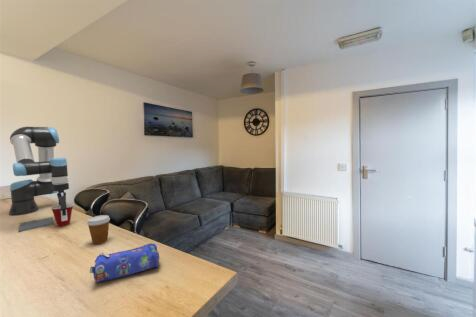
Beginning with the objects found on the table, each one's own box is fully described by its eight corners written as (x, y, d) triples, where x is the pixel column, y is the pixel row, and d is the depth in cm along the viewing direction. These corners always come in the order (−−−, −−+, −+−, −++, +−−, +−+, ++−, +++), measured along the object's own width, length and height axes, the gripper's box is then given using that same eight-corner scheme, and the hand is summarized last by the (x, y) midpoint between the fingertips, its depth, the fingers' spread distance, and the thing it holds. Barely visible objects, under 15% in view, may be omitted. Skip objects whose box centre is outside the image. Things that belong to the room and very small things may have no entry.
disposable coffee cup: (100, 247, 98) (98, 222, 97) (83, 245, 100) (81, 221, 99) (115, 237, 107) (114, 215, 106) (100, 236, 109) (98, 214, 108)
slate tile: (20, 224, 128) (20, 223, 128) (52, 218, 139) (52, 216, 139) (18, 232, 118) (18, 230, 117) (53, 224, 128) (53, 222, 128)
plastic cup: (79, 221, 132) (78, 203, 131) (64, 228, 121) (62, 208, 120) (64, 221, 133) (62, 202, 132) (47, 228, 122) (45, 208, 121)
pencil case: (90, 289, 69) (88, 262, 68) (95, 275, 77) (93, 250, 76) (160, 271, 78) (159, 246, 78) (158, 259, 86) (157, 237, 86)
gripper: (70, 184, 119) (73, 221, 120) (66, 180, 137) (69, 212, 138) (53, 187, 113) (56, 225, 115) (51, 182, 132) (54, 214, 133)
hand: (63, 218), depth 127 cm, fingers open, 13 cm apart
